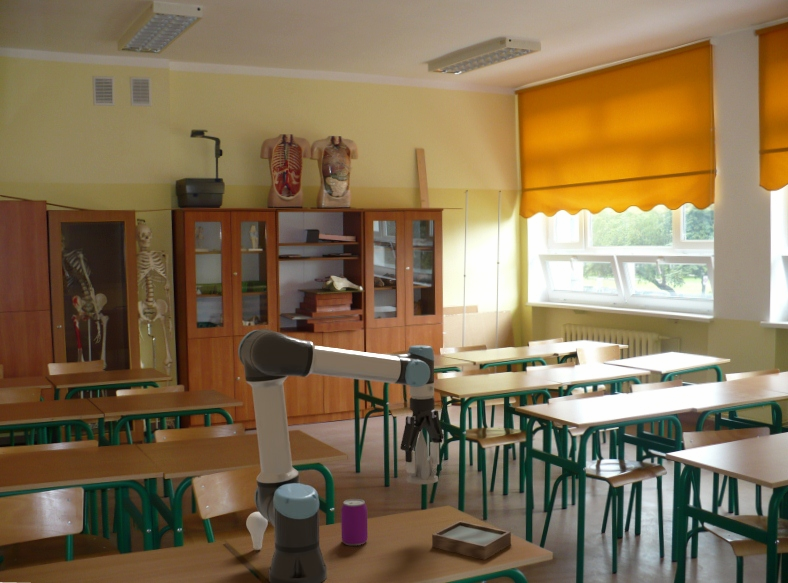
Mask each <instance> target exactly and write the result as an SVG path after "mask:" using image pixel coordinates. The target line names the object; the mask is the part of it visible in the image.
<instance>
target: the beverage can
mask: <svg viewBox="0 0 788 583" xmlns="http://www.w3.org/2000/svg"><path fill="white" fill-rule="evenodd" d="M342 503H343V504H342V507H341V510H340V517H341V518H340V521H341V522H340V523H341V524H340V525H341V526H340V528H341V541H342V542H343V544H345V545H347V546H351V547H355V546H357V545H358V546H362V545H364V544H365V543H366V542H368V537H369V536H368V531H369V530H368V508H367V505H366V502H365V500H363V499H361V498H360V499H359V498H349V499H345V500H344V501H343V502H342ZM361 544H362V545H361Z"/></svg>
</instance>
